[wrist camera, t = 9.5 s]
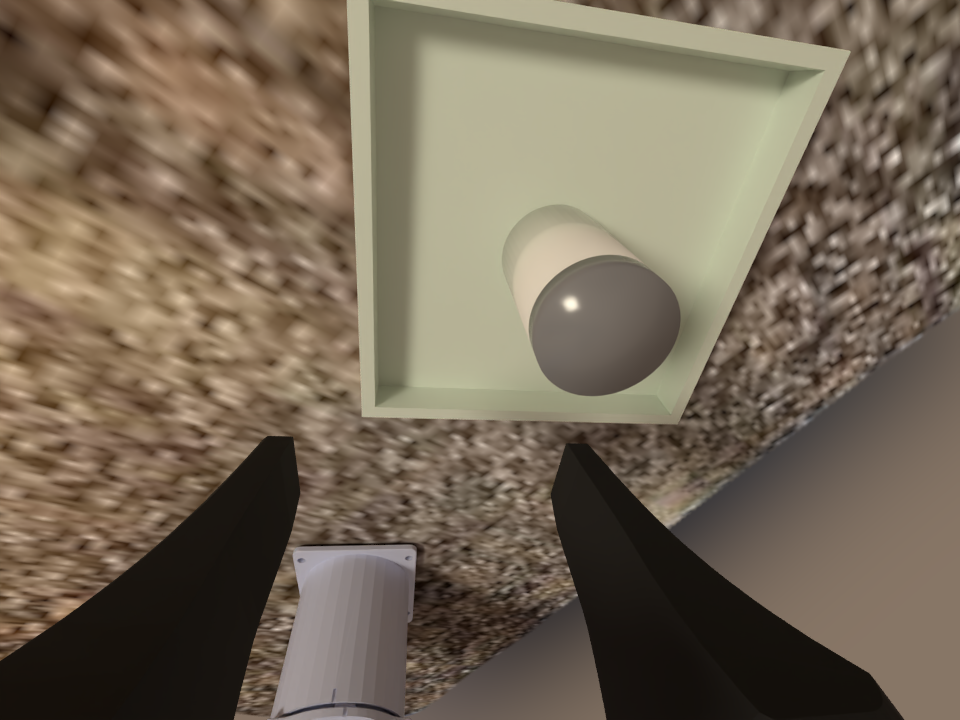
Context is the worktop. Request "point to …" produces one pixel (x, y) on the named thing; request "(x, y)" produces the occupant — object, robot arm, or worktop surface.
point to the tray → (556, 184)
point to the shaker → (587, 302)
